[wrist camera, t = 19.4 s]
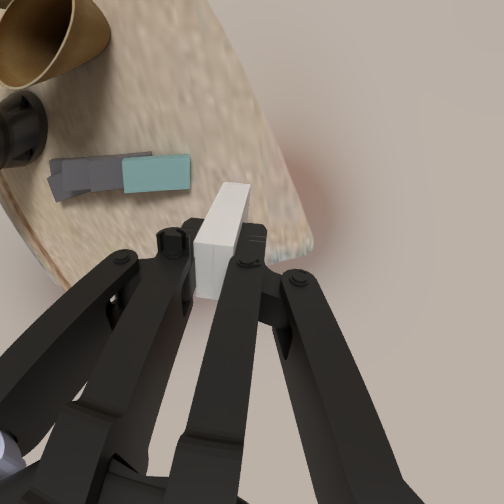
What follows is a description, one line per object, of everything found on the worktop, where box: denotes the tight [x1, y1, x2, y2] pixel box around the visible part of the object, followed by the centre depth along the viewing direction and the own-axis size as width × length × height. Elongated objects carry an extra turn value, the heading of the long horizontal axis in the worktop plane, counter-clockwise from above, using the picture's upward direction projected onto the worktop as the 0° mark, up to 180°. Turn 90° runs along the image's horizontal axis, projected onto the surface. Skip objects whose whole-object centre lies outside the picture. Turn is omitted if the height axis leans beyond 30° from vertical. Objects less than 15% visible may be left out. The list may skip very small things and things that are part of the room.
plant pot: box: [0, 0, 110, 90], centre depth 24 cm, size 15×15×16 cm
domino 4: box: [88, 152, 151, 192], centre depth 41 cm, size 2×5×10 cm
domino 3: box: [62, 154, 121, 191], centre depth 41 cm, size 2×5×10 cm
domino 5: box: [122, 154, 190, 193], centre depth 41 cm, size 2×5×10 cm
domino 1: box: [49, 158, 71, 175], centre depth 44 cm, size 2×5×10 cm
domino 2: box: [47, 171, 91, 202], centre depth 43 cm, size 2×5×10 cm
